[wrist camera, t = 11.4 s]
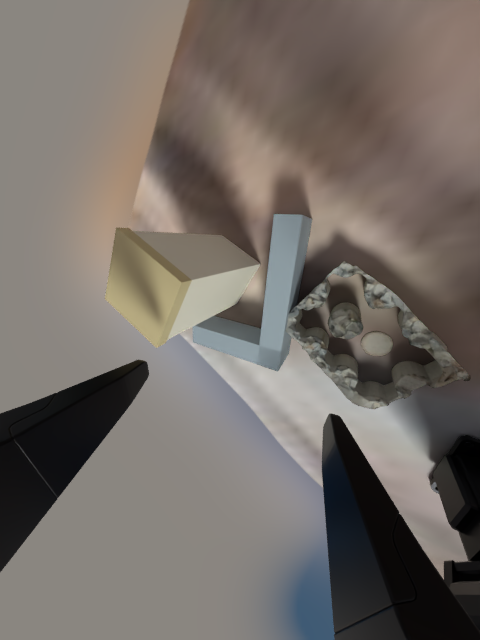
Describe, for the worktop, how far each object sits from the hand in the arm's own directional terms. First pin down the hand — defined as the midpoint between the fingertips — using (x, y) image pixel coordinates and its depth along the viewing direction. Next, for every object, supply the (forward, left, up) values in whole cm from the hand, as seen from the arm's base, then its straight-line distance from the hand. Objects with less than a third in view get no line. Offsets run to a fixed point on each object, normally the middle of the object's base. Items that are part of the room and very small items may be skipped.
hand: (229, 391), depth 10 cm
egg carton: (-6, 0, -13) cm, 14 cm away
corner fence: (+5, -2, -12) cm, 13 cm away
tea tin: (+7, -3, -12) cm, 15 cm away
